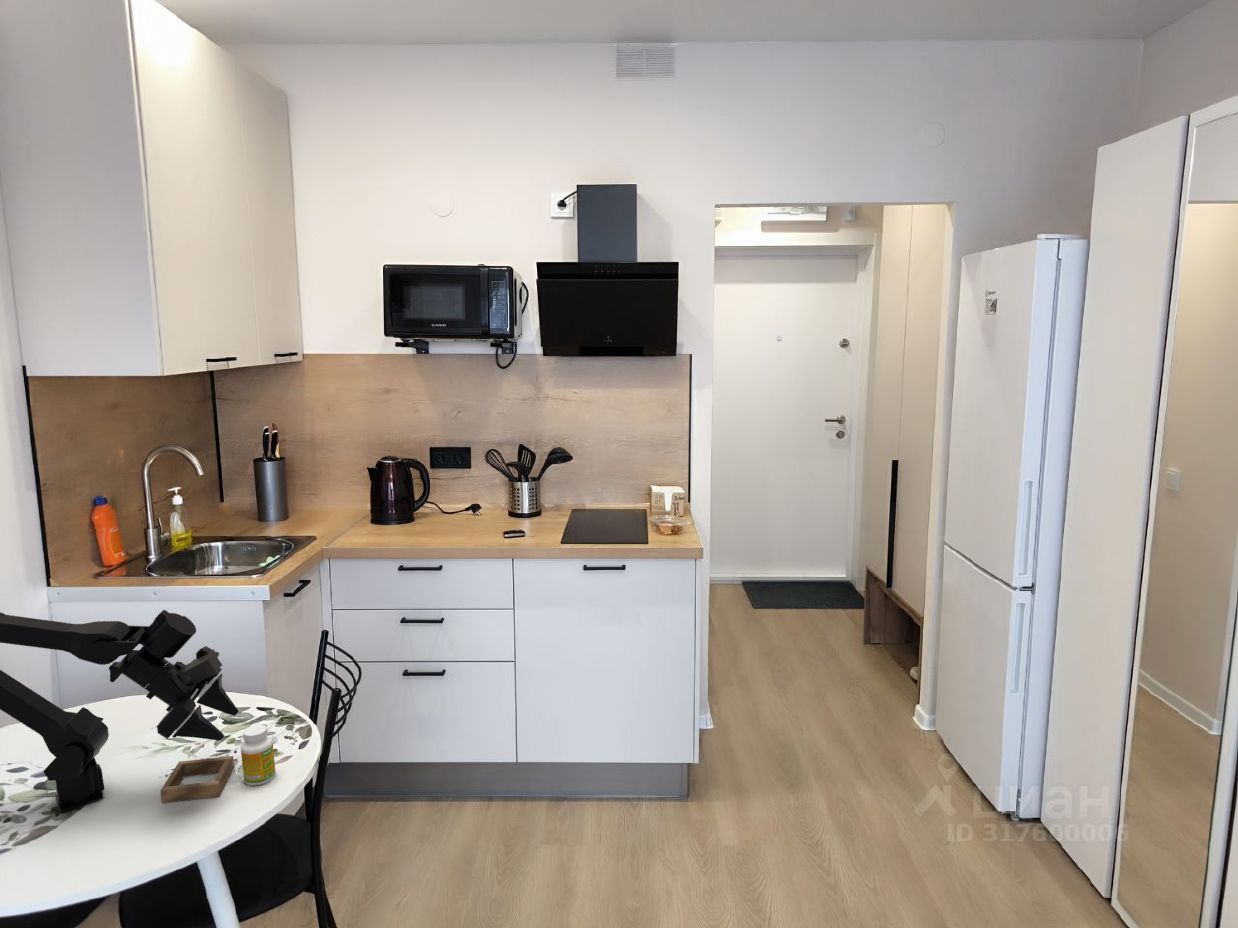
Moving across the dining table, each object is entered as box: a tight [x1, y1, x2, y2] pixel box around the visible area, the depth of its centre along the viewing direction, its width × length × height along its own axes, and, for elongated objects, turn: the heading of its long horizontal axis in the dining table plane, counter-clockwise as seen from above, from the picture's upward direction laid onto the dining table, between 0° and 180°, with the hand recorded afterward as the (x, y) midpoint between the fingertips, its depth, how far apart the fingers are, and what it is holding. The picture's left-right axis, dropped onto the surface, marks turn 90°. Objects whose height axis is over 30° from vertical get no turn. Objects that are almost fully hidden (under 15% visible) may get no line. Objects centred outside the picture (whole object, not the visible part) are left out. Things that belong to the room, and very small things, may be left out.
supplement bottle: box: [240, 724, 276, 786], centre depth 149 cm, size 5×5×10 cm
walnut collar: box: [160, 755, 235, 804], centre depth 147 cm, size 10×10×2 cm
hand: (230, 725), depth 147 cm, fingers open, 9 cm apart
